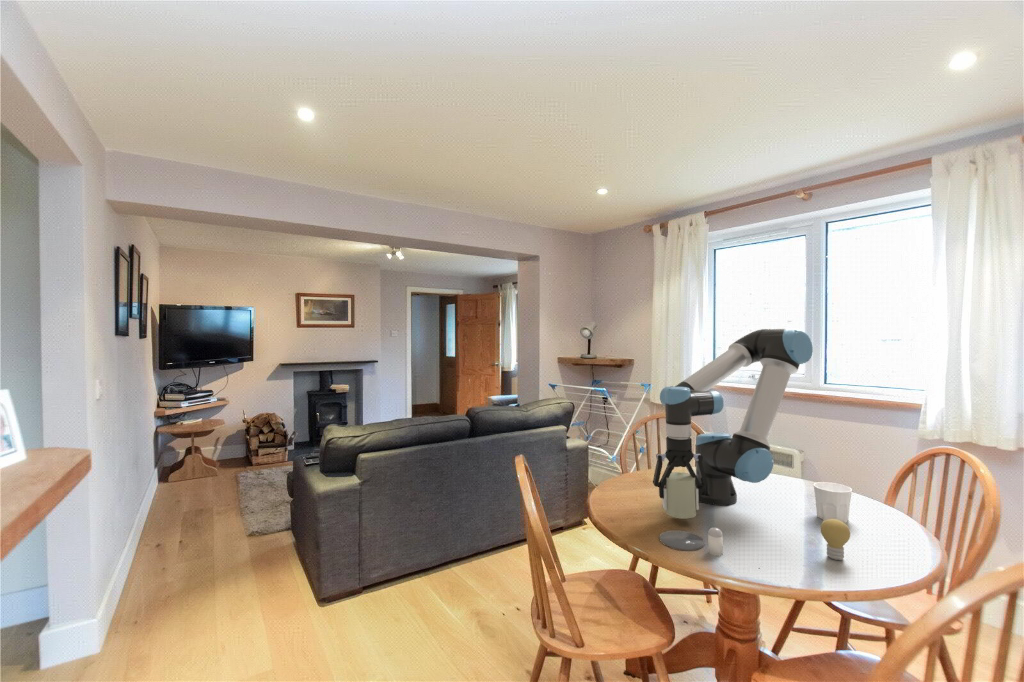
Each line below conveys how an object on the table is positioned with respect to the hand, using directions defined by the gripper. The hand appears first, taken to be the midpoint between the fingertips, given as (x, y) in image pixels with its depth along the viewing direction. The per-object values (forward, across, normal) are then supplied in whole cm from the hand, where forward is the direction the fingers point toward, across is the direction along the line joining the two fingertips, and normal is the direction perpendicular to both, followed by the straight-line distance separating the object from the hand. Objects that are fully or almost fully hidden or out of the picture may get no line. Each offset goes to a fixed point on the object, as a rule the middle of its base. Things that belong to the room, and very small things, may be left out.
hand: (680, 508), depth 149 cm
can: (+2, 0, 0) cm, 2 cm away
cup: (+6, -48, -6) cm, 49 cm away
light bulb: (+5, -33, +22) cm, 40 cm away
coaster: (+4, +4, +14) cm, 15 cm away
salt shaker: (+4, -3, +21) cm, 22 cm away
